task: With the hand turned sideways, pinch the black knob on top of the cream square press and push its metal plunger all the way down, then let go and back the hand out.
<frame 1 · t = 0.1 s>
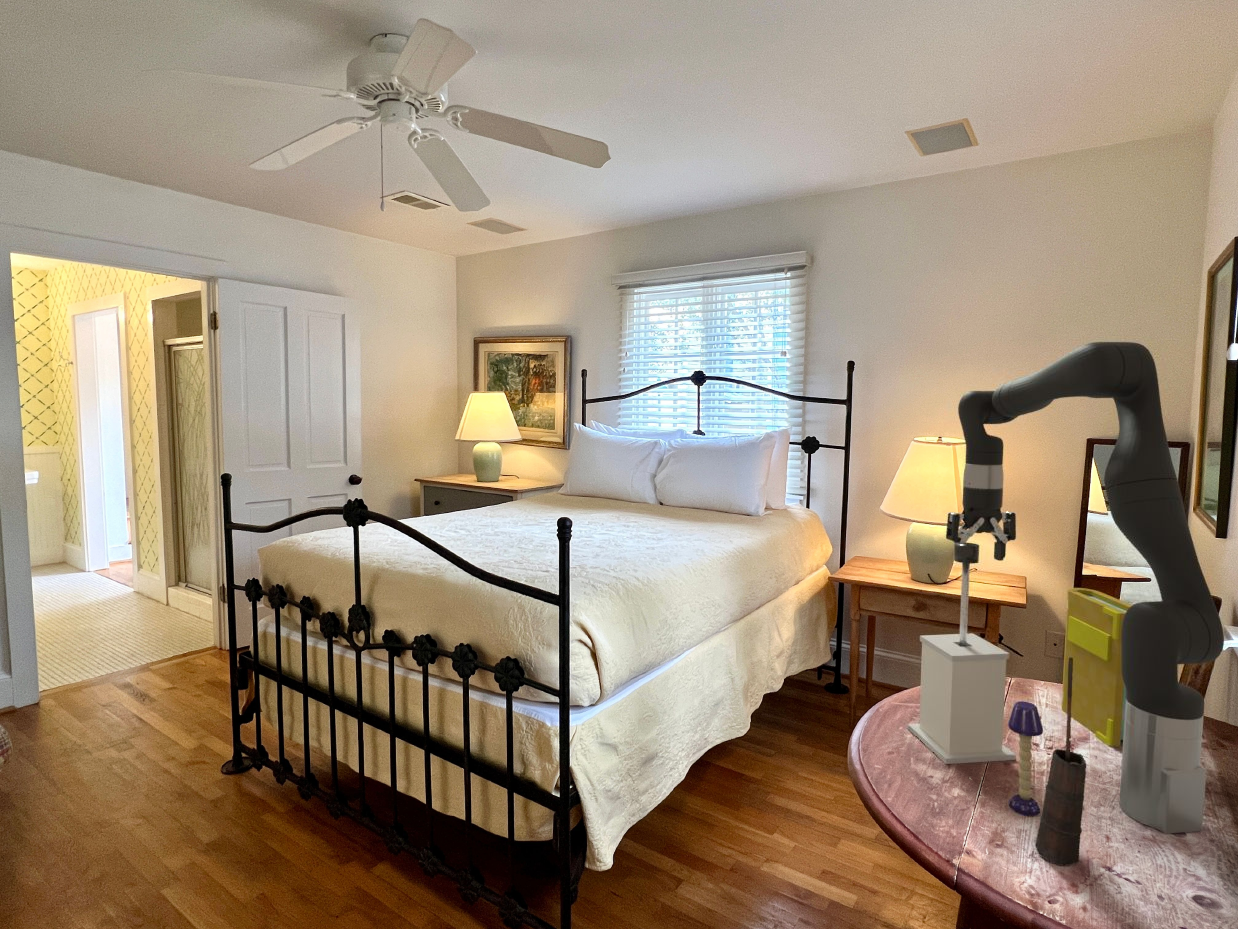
hand: (979, 560, 147), 29 cm above the table, tool pointing down, fingers open, 8 cm apart
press: (959, 743, 127), on the table
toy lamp: (1022, 808, 107), on the table
plunger: (964, 614, 125), point 25 cm above the table, slide at 10.0 cm
book: (1097, 725, 134), on the table
butter churn: (1060, 861, 95), on the table
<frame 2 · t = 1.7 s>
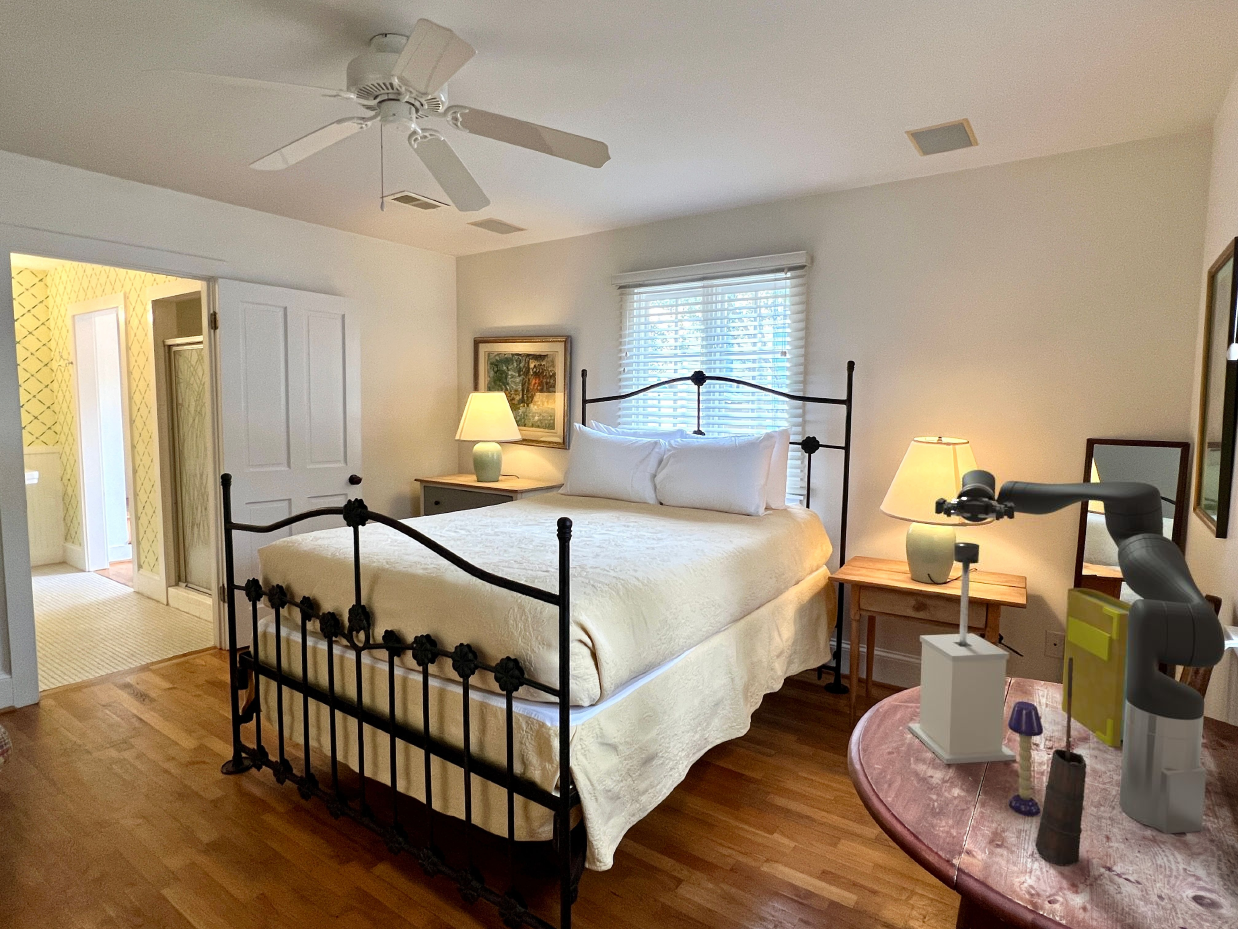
hand: (972, 513, 134), 41 cm above the table, tool horizontal, fingers open, 8 cm apart
nothing on the table moved.
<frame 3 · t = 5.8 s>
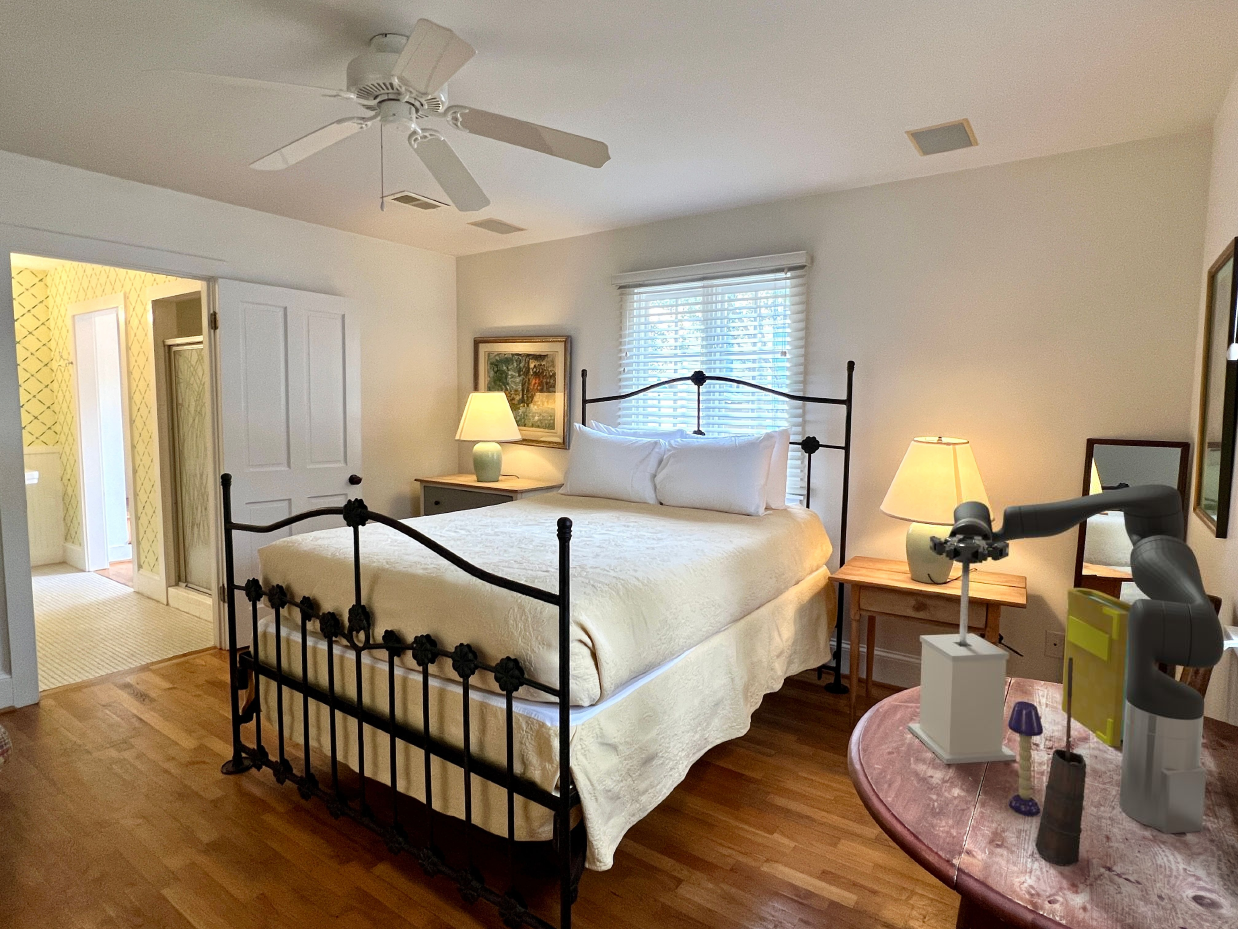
hand: (965, 556, 122), 36 cm above the table, tool horizontal, fingers closed on plunger, 4 cm apart
plunger: (964, 614, 125), point 25 cm above the table, slide at 10.0 cm, touching gripper
everything else where it was.
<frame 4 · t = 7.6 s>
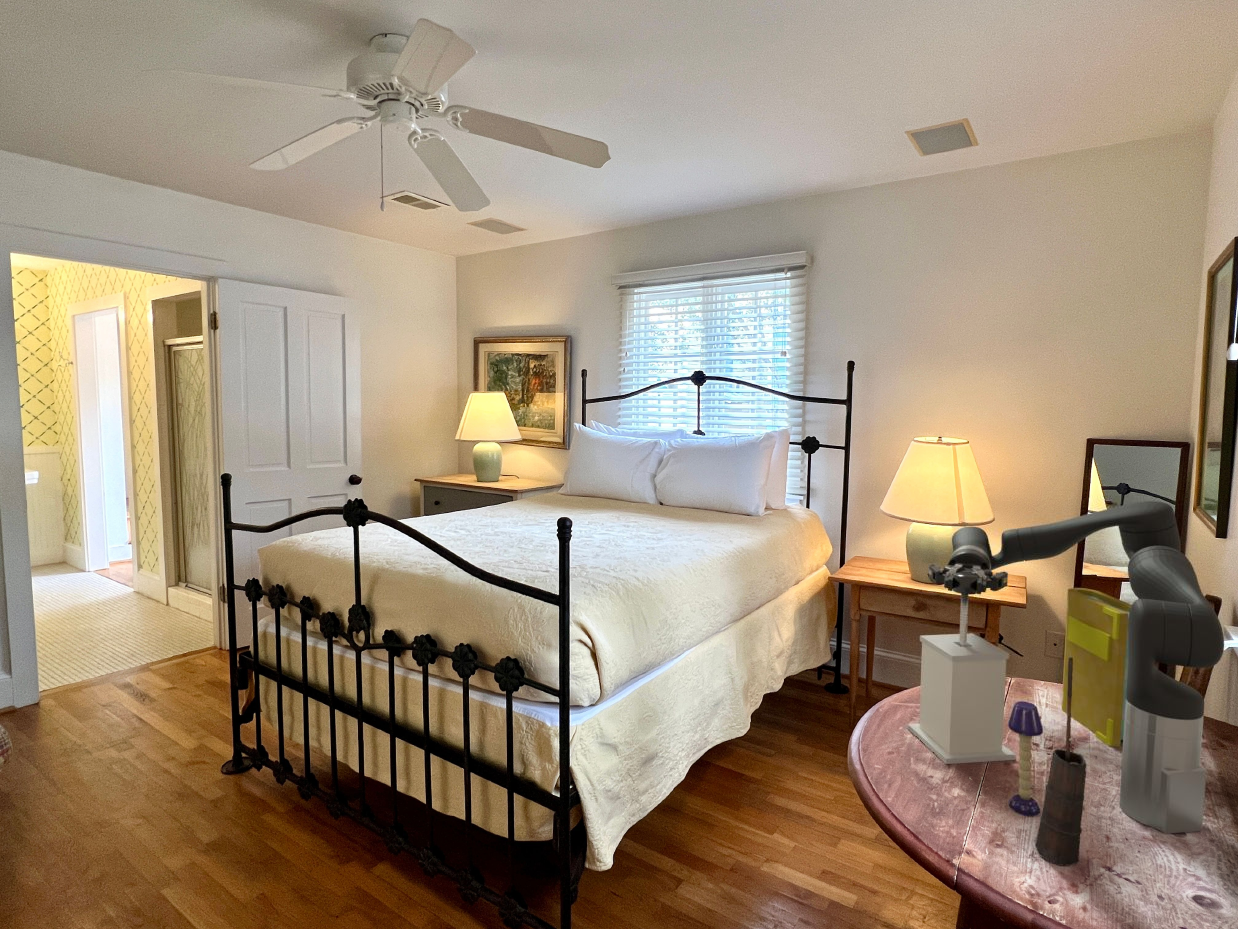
hand: (964, 587, 122), 30 cm above the table, tool horizontal, fingers closed on plunger, 4 cm apart
plunger: (962, 644, 126), point 19 cm above the table, slide at 4.4 cm, touching gripper
everything else where it was.
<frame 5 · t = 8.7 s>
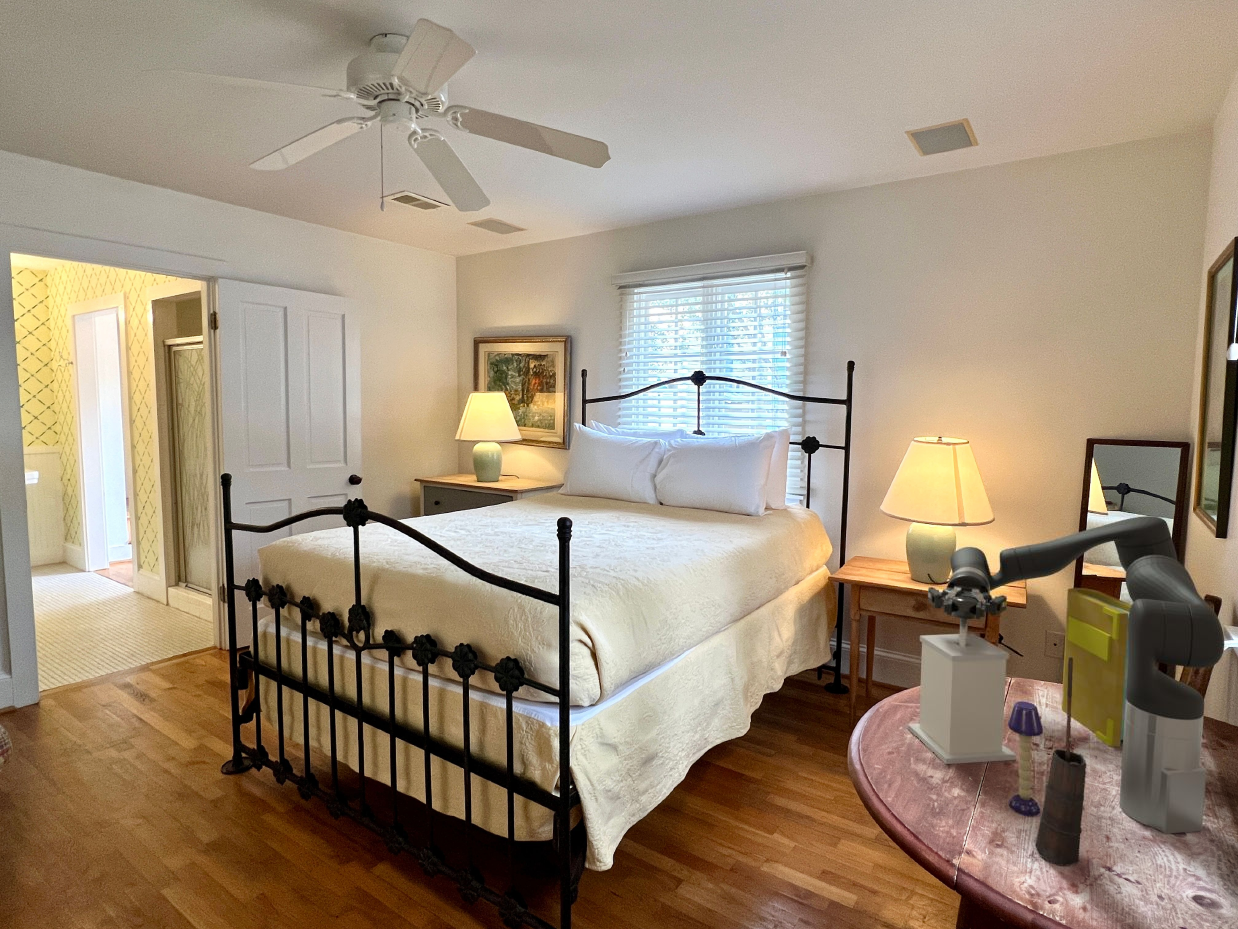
hand: (963, 611, 123), 26 cm above the table, tool horizontal, fingers closed on plunger, 4 cm apart
plunger: (962, 668, 126), point 14 cm above the table, slide at -0.1 cm, touching gripper
everything else where it was.
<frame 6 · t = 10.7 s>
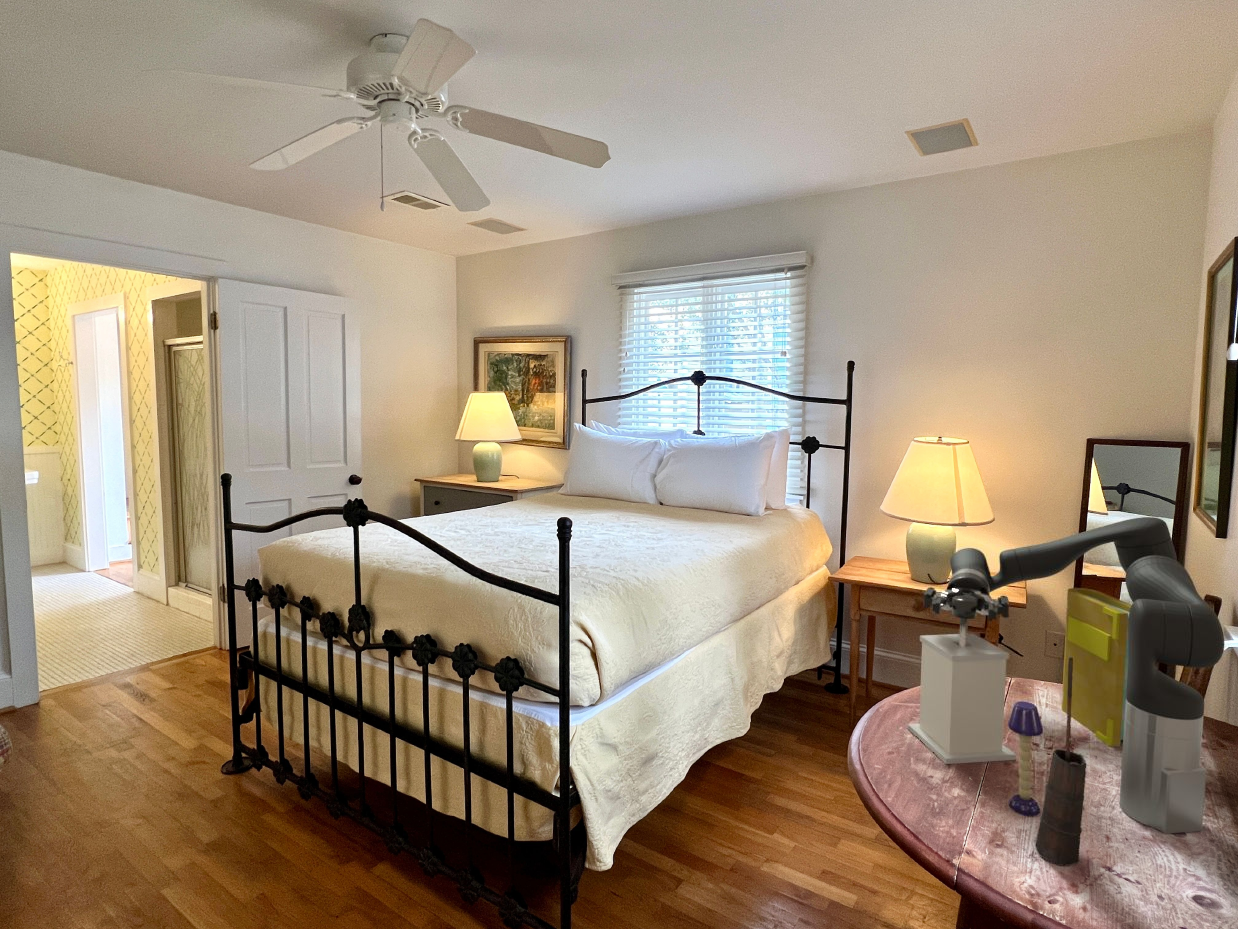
hand: (963, 612, 123), 26 cm above the table, tool horizontal, fingers open, 8 cm apart
plunger: (962, 668, 126), point 14 cm above the table, slide at -0.1 cm
everything else where it was.
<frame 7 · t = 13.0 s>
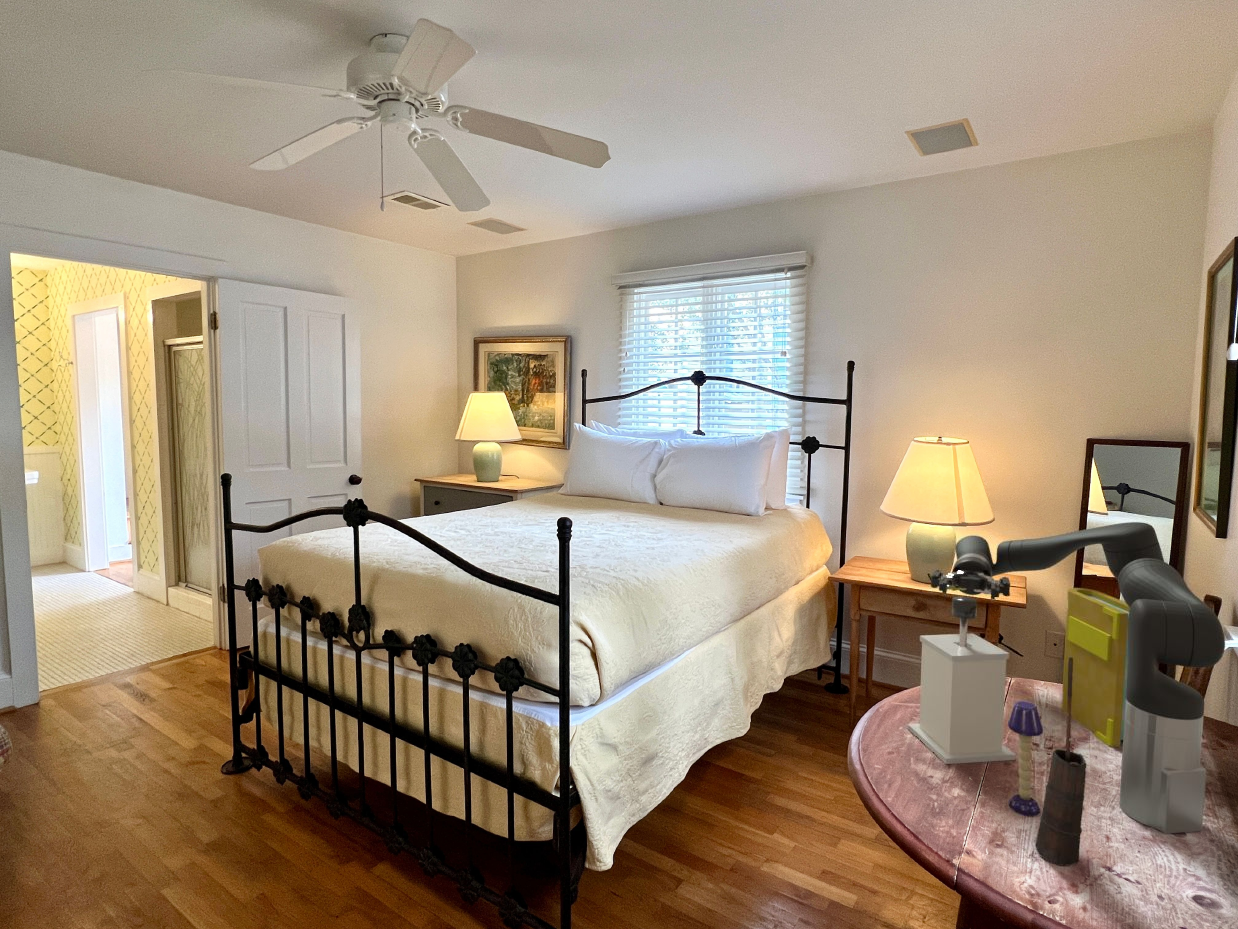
hand: (968, 591, 135), 26 cm above the table, tool horizontal, fingers open, 8 cm apart
nothing on the table moved.
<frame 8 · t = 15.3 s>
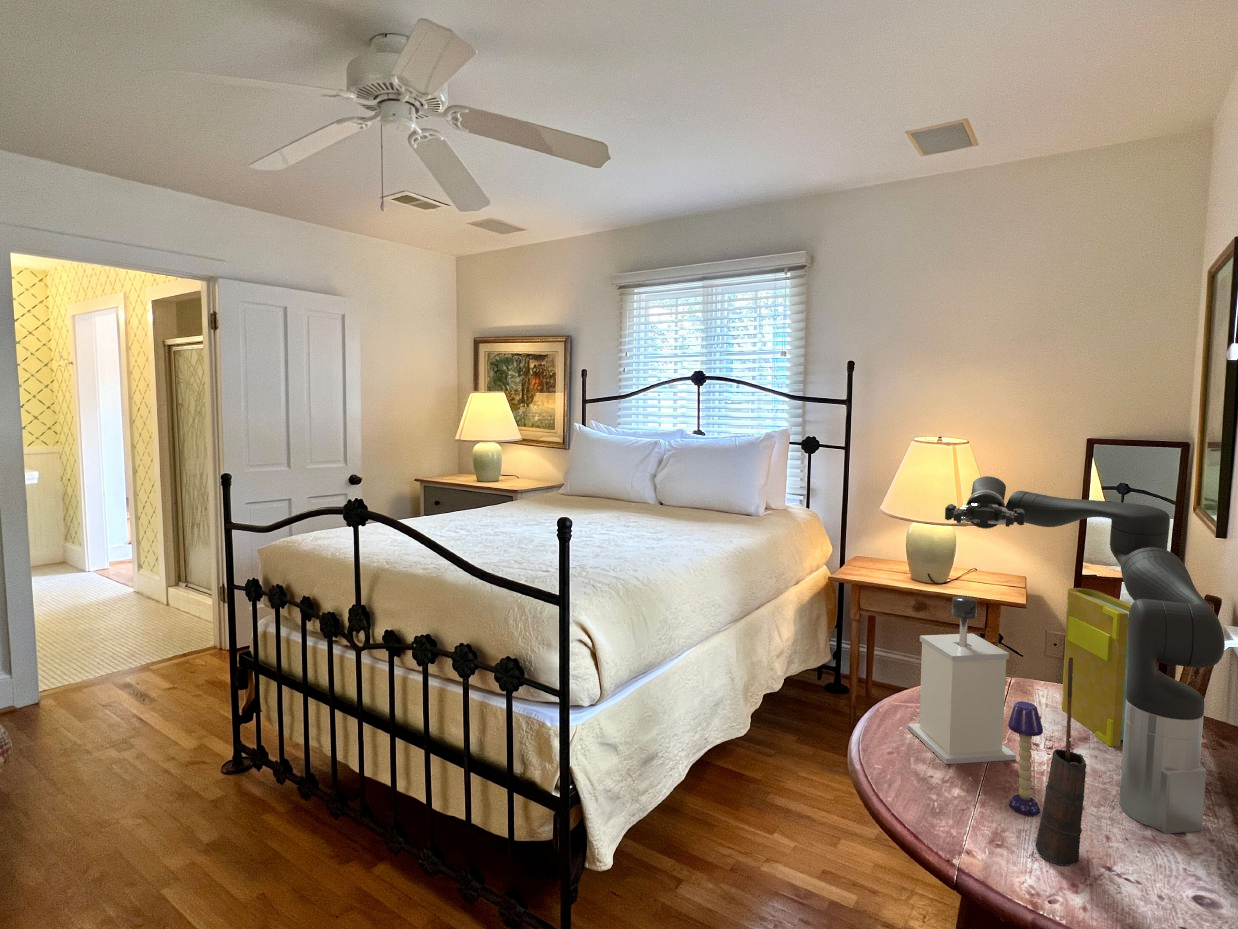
hand: (983, 519, 135), 40 cm above the table, tool horizontal, fingers open, 8 cm apart
nothing on the table moved.
at the end: plunger slide at -0.1 cm; the gripper is holding nothing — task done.
